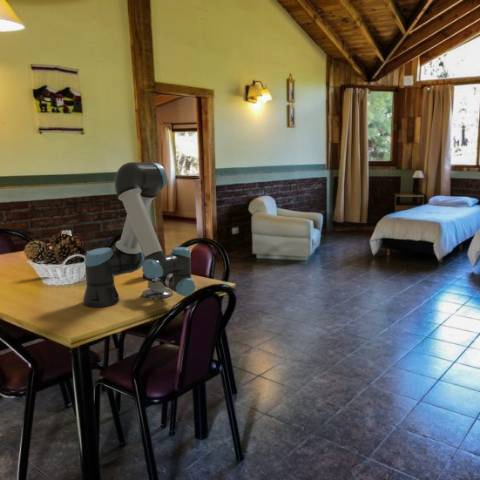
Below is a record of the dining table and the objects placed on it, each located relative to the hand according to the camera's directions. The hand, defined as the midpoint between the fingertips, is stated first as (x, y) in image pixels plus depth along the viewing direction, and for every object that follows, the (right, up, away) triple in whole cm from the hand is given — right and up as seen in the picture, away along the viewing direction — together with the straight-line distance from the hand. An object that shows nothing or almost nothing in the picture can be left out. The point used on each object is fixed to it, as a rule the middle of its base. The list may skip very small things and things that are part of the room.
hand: (153, 270), depth 220 cm
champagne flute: (-54, -4, +39) cm, 67 cm away
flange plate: (+2, -11, -2) cm, 11 cm away
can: (+2, -7, -3) cm, 8 cm away
